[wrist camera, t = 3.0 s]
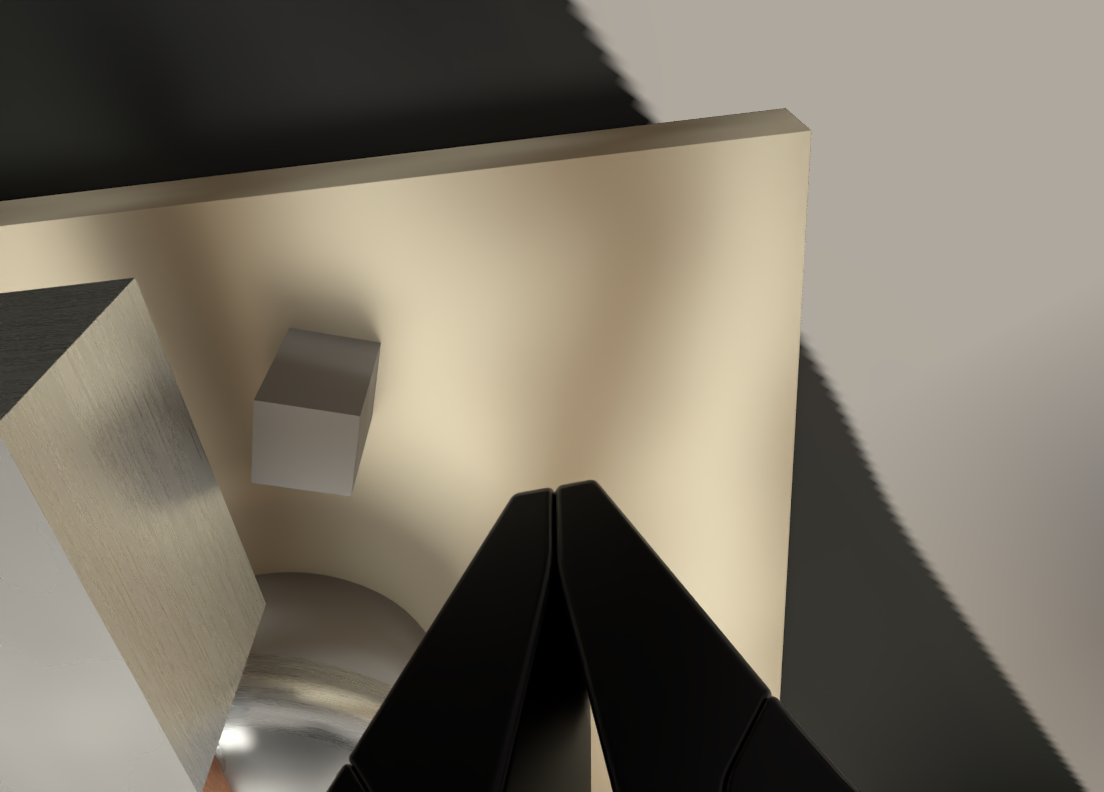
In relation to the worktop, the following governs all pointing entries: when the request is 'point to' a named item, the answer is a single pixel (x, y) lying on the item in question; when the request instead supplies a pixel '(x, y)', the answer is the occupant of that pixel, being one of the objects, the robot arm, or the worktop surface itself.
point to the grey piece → (136, 579)
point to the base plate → (474, 360)
